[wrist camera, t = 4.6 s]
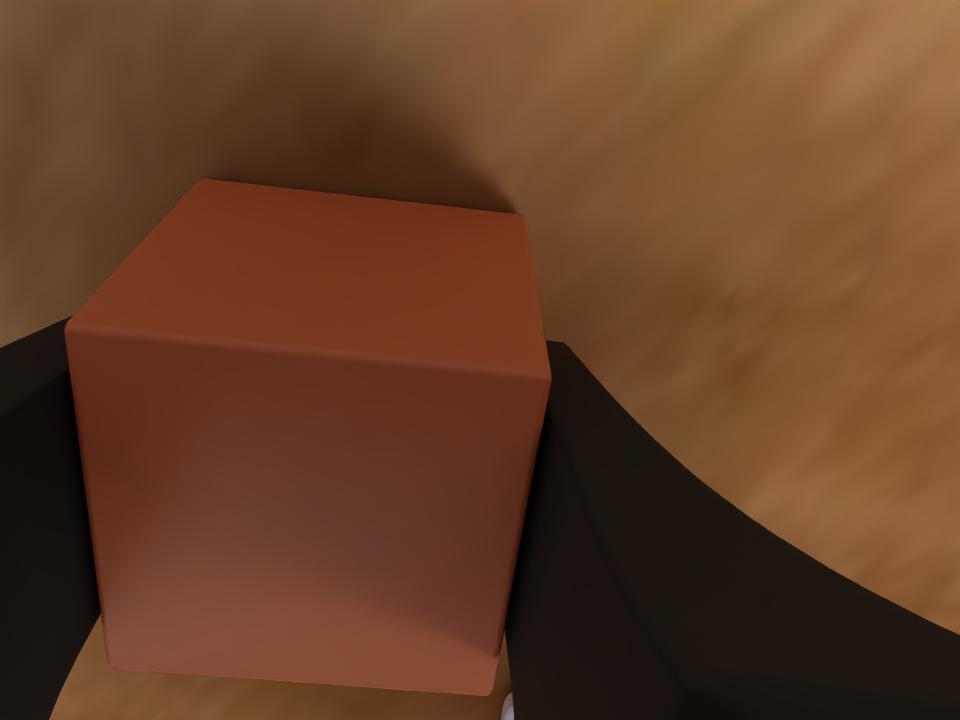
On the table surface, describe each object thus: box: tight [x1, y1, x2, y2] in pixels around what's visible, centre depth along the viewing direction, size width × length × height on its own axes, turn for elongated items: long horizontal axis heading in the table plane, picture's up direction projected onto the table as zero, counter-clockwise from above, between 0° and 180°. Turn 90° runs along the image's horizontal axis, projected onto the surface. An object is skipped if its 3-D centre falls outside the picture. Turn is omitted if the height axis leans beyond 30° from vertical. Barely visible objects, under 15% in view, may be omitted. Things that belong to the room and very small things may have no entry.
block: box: [65, 179, 552, 696], centre depth 10 cm, size 4×4×4 cm
